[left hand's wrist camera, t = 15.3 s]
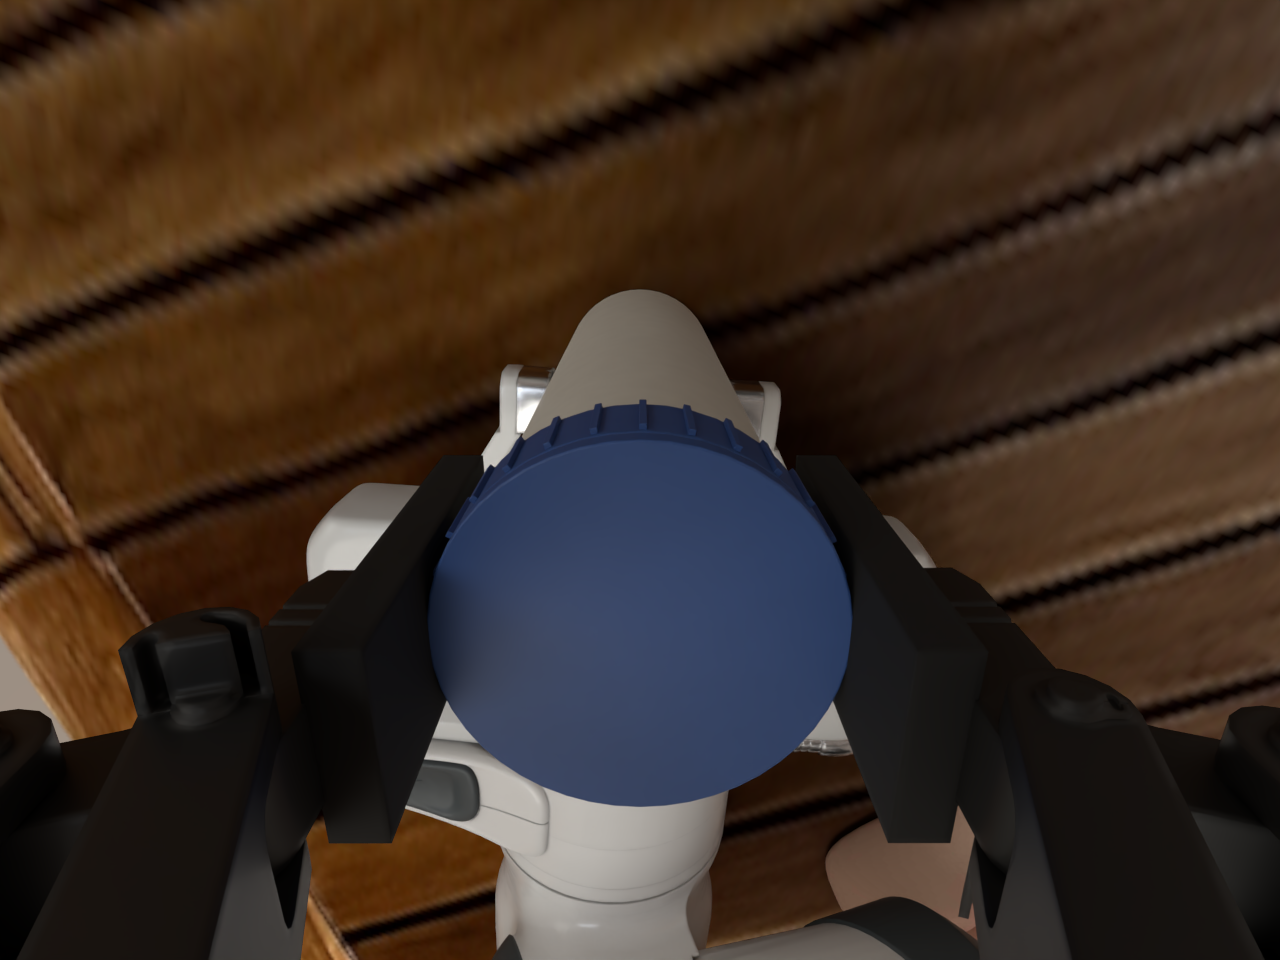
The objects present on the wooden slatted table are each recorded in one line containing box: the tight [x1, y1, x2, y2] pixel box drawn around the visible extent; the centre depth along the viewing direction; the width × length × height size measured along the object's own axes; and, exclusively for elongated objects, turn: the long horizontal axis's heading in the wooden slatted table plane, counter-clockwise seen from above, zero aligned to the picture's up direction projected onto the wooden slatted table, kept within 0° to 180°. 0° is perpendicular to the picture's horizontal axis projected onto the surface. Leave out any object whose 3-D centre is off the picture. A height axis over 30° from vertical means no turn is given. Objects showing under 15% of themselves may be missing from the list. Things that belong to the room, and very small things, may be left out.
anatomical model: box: [825, 806, 977, 940], centre depth 37 cm, size 13×4×12 cm
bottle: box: [522, 289, 760, 443], centre depth 20 cm, size 6×6×19 cm
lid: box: [427, 399, 853, 807], centre depth 11 cm, size 6×6×2 cm
